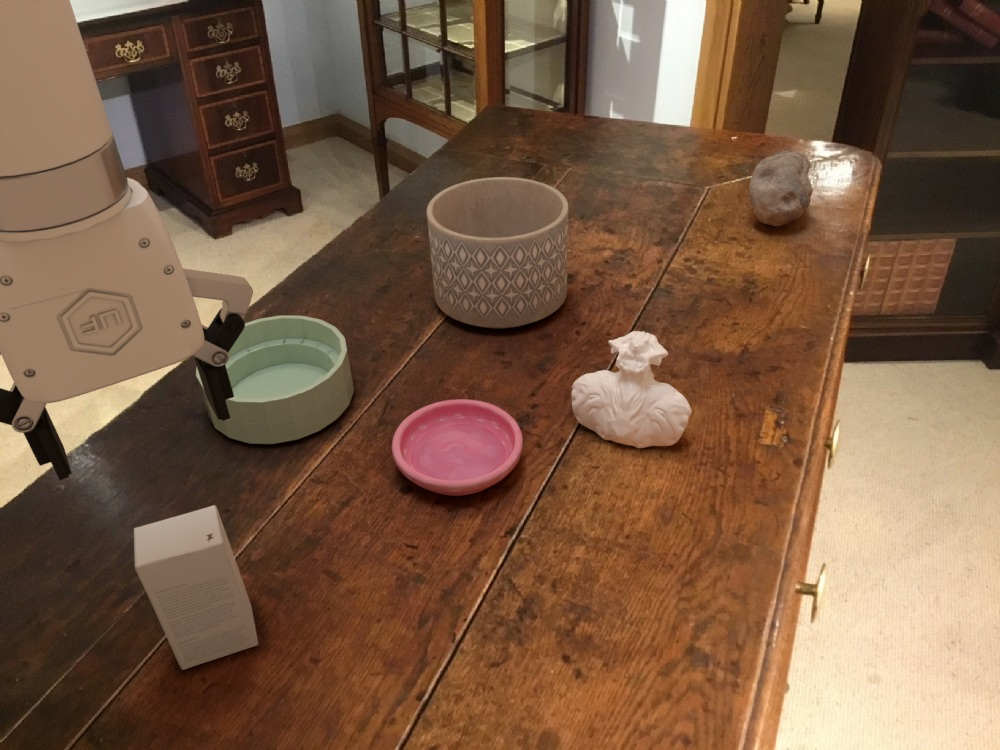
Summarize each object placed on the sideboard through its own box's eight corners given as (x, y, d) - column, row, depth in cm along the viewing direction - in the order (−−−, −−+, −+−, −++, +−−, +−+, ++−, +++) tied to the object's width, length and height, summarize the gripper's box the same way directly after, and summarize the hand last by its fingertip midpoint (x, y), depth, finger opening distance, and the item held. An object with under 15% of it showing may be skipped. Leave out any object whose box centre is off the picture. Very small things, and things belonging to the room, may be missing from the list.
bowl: (236, 468, 83) (221, 421, 79) (193, 389, 94) (178, 344, 90) (377, 413, 89) (370, 367, 86) (322, 344, 100) (313, 300, 96)
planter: (419, 282, 110) (409, 191, 103) (535, 256, 115) (535, 167, 107) (460, 350, 98) (452, 252, 90) (589, 318, 102) (592, 222, 95)
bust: (686, 457, 85) (711, 347, 85) (676, 461, 78) (703, 341, 78) (573, 428, 89) (596, 324, 89) (553, 430, 82) (579, 316, 82)
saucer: (512, 415, 88) (511, 391, 86) (533, 500, 78) (533, 475, 76) (392, 429, 87) (389, 405, 85) (398, 517, 77) (394, 492, 75)
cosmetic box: (252, 605, 70) (218, 502, 63) (259, 647, 67) (225, 543, 59) (175, 629, 68) (131, 526, 61) (179, 673, 65) (133, 569, 58)
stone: (821, 202, 125) (835, 136, 119) (795, 244, 115) (809, 174, 109) (762, 190, 128) (772, 126, 122) (732, 230, 118) (742, 162, 112)
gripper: (-153, 260, 37) (0, 530, 47) (235, 165, 44) (295, 419, 54) (-151, 199, 42) (-13, 453, 53) (195, 122, 49) (257, 361, 60)
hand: (143, 436), depth 53 cm, fingers open, 9 cm apart
